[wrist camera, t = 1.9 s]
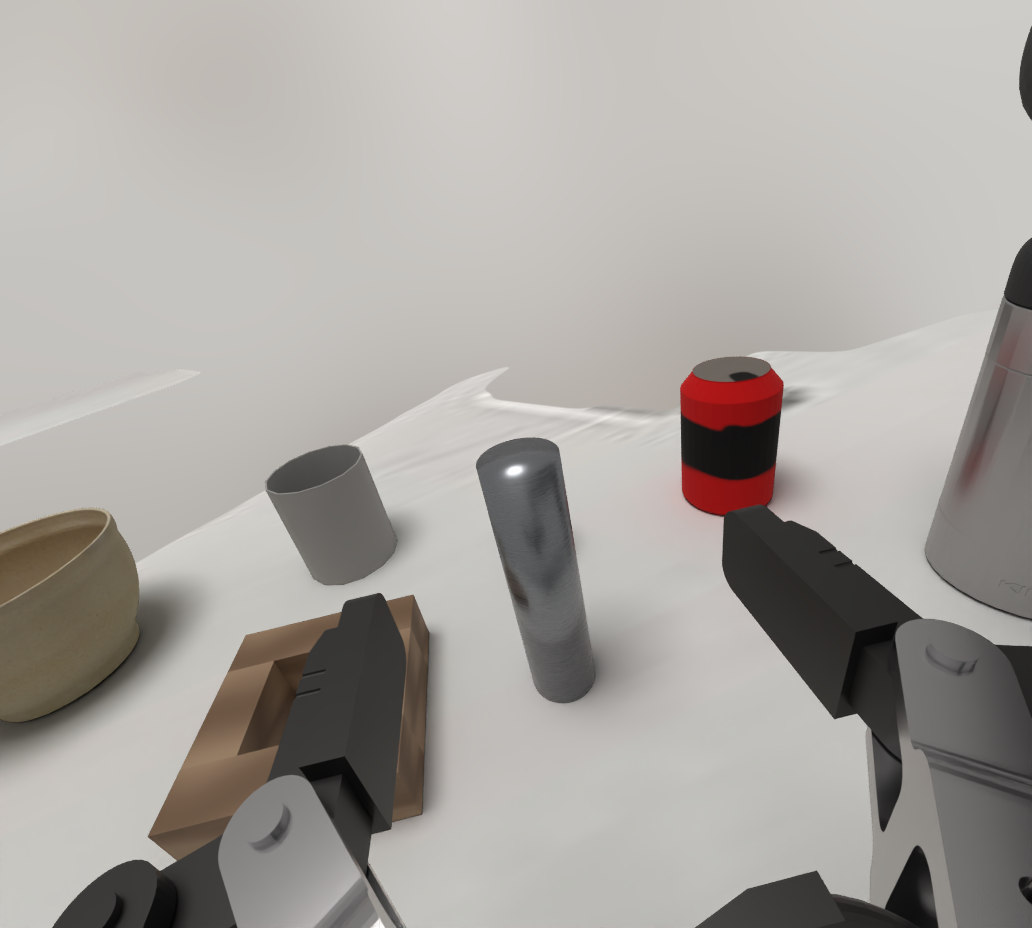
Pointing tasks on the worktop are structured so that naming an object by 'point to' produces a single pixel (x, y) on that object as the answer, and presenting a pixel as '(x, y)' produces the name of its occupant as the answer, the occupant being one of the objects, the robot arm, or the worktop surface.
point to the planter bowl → (63, 609)
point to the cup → (333, 513)
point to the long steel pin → (539, 562)
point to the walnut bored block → (279, 729)
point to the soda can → (730, 433)
